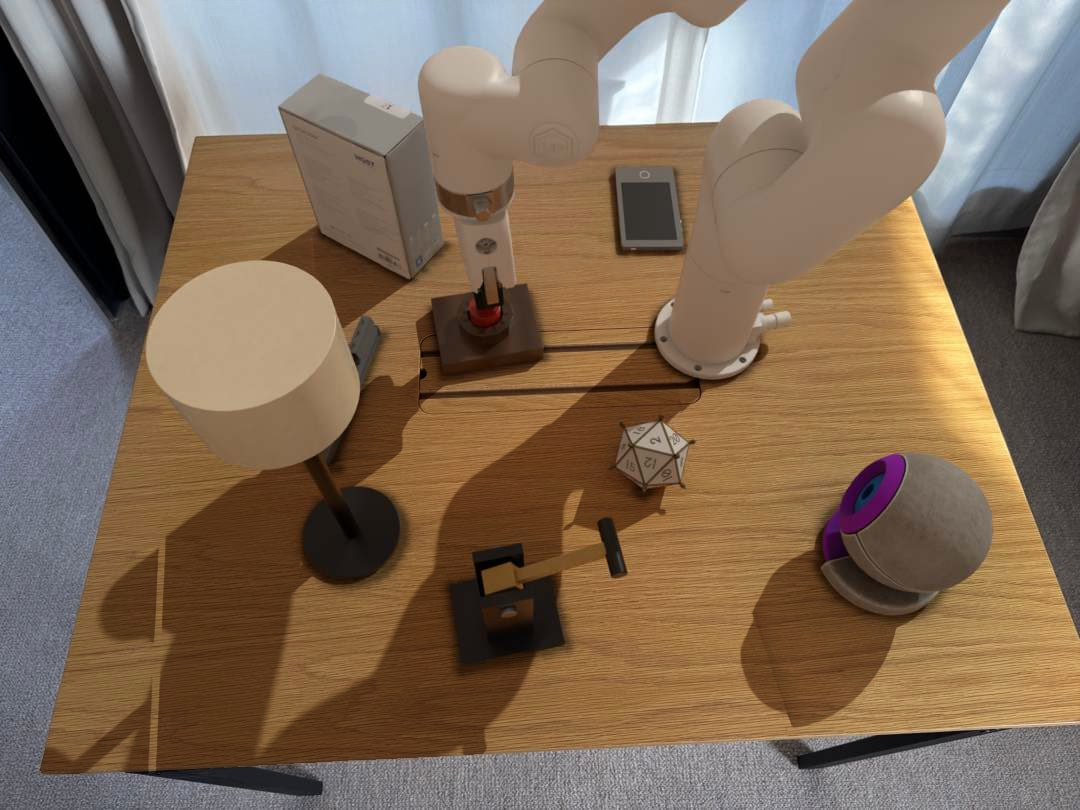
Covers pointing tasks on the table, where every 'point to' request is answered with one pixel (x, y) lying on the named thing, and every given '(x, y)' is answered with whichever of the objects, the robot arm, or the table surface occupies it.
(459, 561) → the table surface
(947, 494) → the webcam
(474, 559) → the switch bracket
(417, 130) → the hard drive box
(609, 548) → the tan handled piece
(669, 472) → the game die
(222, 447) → the desk lamp
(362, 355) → the grey long bar
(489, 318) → the red push button
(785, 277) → the robot arm
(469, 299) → the button block
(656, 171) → the smartphone
